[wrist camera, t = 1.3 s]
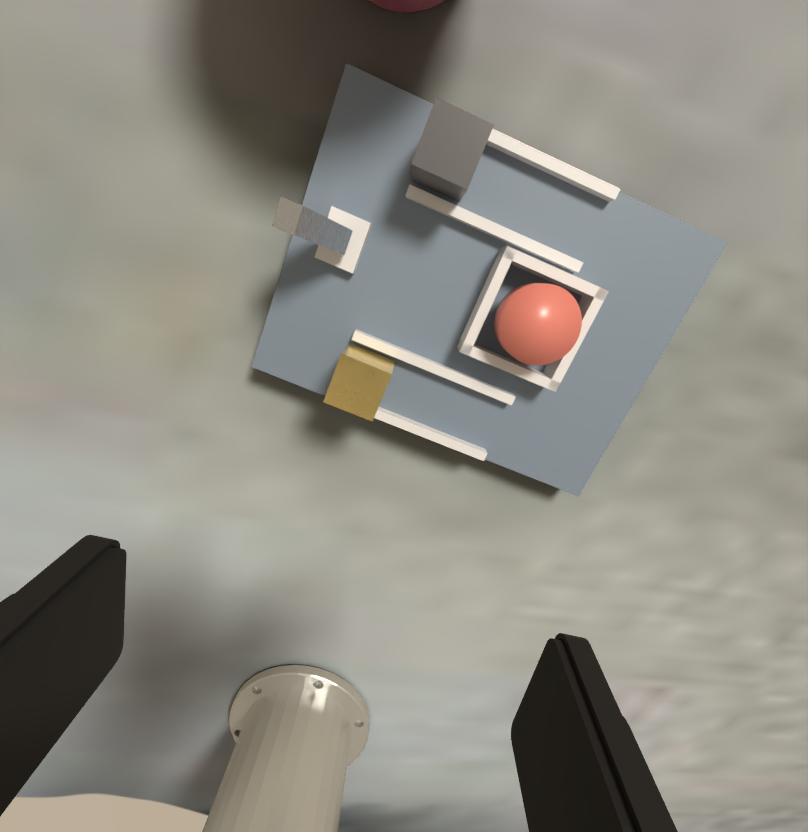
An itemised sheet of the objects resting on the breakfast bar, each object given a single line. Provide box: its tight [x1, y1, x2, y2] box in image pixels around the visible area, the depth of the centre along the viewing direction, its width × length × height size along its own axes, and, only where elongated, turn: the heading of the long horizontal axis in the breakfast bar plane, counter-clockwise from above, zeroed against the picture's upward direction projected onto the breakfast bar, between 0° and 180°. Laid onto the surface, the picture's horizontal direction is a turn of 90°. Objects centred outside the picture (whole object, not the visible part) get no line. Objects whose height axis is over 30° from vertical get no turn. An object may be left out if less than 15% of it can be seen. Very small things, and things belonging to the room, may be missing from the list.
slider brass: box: [323, 343, 395, 422], centre depth 27 cm, size 3×3×4 cm
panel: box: [252, 63, 727, 496], centre depth 28 cm, size 18×24×4 cm
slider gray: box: [411, 98, 494, 202], centre depth 24 cm, size 3×3×4 cm
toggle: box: [272, 197, 353, 255], centre depth 24 cm, size 1×1×5 cm
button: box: [494, 283, 582, 366], centre depth 26 cm, size 4×4×2 cm
